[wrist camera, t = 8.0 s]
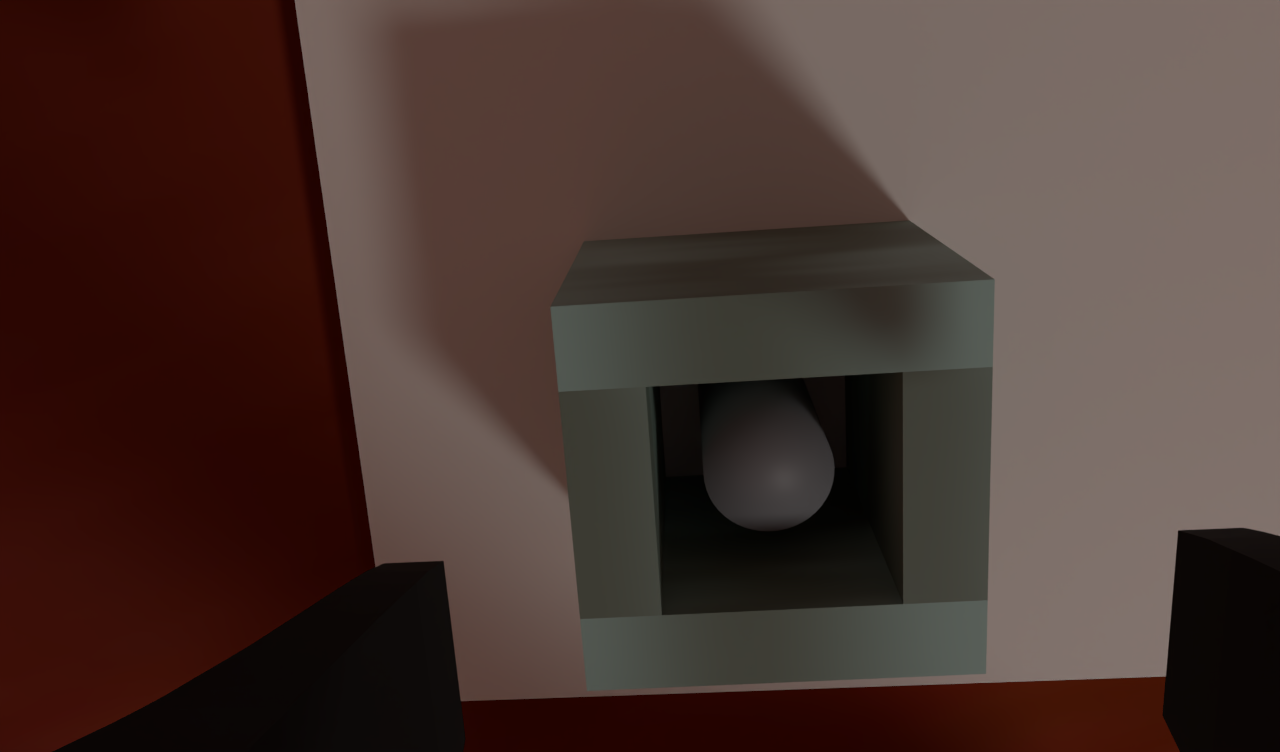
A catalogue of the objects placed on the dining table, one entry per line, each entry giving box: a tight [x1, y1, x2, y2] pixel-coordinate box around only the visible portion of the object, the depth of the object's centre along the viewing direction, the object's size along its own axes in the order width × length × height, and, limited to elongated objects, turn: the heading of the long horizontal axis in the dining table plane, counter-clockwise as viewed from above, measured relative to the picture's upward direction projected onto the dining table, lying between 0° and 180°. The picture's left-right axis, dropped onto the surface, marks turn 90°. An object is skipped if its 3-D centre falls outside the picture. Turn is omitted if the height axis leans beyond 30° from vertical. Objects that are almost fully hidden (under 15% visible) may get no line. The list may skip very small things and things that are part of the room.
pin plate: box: [295, 0, 1280, 701], centre depth 16 cm, size 18×18×5 cm
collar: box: [550, 220, 995, 691], centre depth 16 cm, size 5×5×5 cm
